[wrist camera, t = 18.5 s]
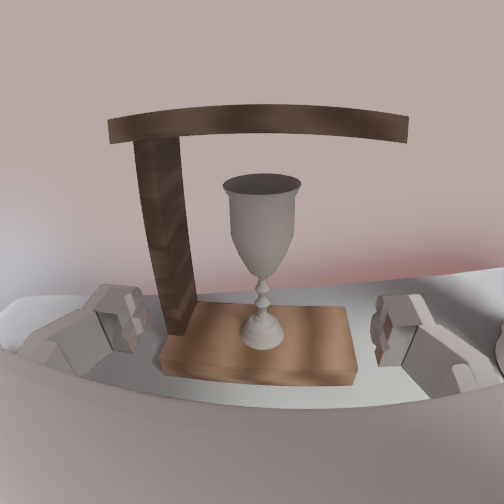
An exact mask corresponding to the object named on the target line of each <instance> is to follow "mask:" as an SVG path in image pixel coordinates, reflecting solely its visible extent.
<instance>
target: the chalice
mask: <svg viewBox="0 0 504 504" xmlns="http://www.w3.org/2000/svg"><path fill="white" fill-rule="evenodd" d="M300 186H301V182H300V181H299V180H298V179H296V178H294V177H291V176H286V175H281V174H249V175H243V176H238V177H234V178H231V179H229V180H227V181H226V182H225V183H224V184H223V188H224V189H225V191H226V193H227V194H228V196H229V204H230V222H231V236H232V239H233V242H234V244H235V247H236V249H237V251H238V254H239V255H240V257H241V259H242V260H243V262H244V263H245V265H246V267H247V268H248V270H249V271H250V273H251V274H253V275H255V276H258V279H259V280H258V285H257V286H256V288H255V290H256V291H257V292H258V295H259V297H258V299H257V300H256V301H255V305H256V306H257V307H258V309H259V312H258V313H256V314H254V315H252V316H251V317H250V318H249V319H248V321H247V323H246V325H245V328H244V329H243V330H242V334H241V337H242V340H243V341H244V343H245V344H246V345H248V346H249V347H251V348H254V349H258V350H266V349H271V348H274V347H276V346H278V345H279V344H280V343H281V342H282V340H283V338H284V332H283V330H282V328H281V326H280V324H279V322H278V319H277V318H276V317H274V316H273V315H271V314H270V313H267V307H268V306H269V305H270V304H271V301H270V300H269V299H268V298H267V293H268V292H269V290H270V286H269V285H268V282H267V277H268V276H269V275H272V274H273V273H275V271H276V270H277V268H278V266H279V265H280V263H281V261H282V260H283V258H284V256H285V254H286V252H287V250H288V248H289V245H290V243H291V240H292V238H293V235H294V213H295V196H296V194H297V192H298V190H299V188H300Z"/></svg>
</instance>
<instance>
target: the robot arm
mask: <svg viewBox="0 0 504 504" xmlns="http://www.w3.org/2000/svg"><path fill="white" fill-rule="evenodd" d="M142 298H143V296H142V293H141V290H140V289H139V288H138V287H130V286H121V285H111V284H103V285H101V286H100V287H99V288H98V289H97V291H96V292H95V293H94V294H93V295H92V296H91V298H90V299H89V300H88V301H87V303H86V304H85V305H84V306H83V308H82V309H77V310H75V311H73V312H71V313H69V314H67V315H65V316H64V317H62V318H60V319H58V320H56V321H54V322H52V323H50V324H48V325H46V326H44V327H43V328H41V329H39V330H37V331H35V332H33V333H31V334H30V335H29V336H28V338H27V339H26V340H25V342H24V343H23V344H22V345H21V347H20V348H19V349H18V351H17V352H16V353H12V352H10V351H8V350H5V349H3V348H1V347H0V504H504V383H500V381H499V379H498V377H497V375H496V373H495V370H494V368H493V366H492V364H491V362H490V360H489V358H488V357H486V356H485V355H483V354H482V353H481V352H479V351H478V350H476V349H475V348H474V347H472V346H471V345H469V344H468V343H466V342H465V341H464V340H462V339H461V338H459V337H458V336H456V335H455V334H454V333H452V332H451V331H449V330H448V329H446V328H445V327H443V326H442V325H441V324H436V323H435V321H434V319H433V317H432V315H431V313H430V311H429V309H428V307H427V305H426V303H425V302H424V300H423V298H422V296H421V295H420V294H406V295H383V296H378V298H377V301H376V305H375V306H376V309H377V312H376V313H375V314H374V315H373V316H372V320H371V328H370V333H371V339H372V343H374V344H375V345H376V346H377V347H376V350H375V355H376V359H377V363H378V367H386V366H401V367H402V368H403V369H404V370H405V371H406V372H407V374H408V375H409V376H410V377H411V378H412V379H413V380H414V381H415V382H416V383H417V384H418V385H419V386H420V388H421V389H422V390H423V391H424V392H425V393H426V394H427V395H428V396H429V397H430V398H431V399H428V400H422V401H415V402H408V403H400V404H391V405H381V406H370V407H356V408H335V409H278V408H258V407H243V406H232V405H222V404H213V403H204V402H197V401H190V400H183V399H177V398H171V397H165V396H159V395H154V394H149V393H144V392H139V391H134V390H130V389H125V388H121V387H117V386H113V385H109V384H105V383H101V382H98V381H94V380H90V379H87V378H83V377H81V376H82V375H83V374H85V373H86V372H87V371H88V370H90V369H91V368H92V367H93V366H95V365H96V364H97V363H99V362H100V361H101V360H102V359H104V358H105V357H106V356H107V355H109V354H110V353H111V352H113V351H112V350H114V351H121V352H127V353H133V351H134V349H135V348H136V346H137V344H138V342H139V338H138V335H139V334H141V333H143V332H144V330H145V328H146V326H147V321H148V313H147V309H146V307H145V306H144V305H143V303H142V302H141V300H142ZM501 332H502V333H501V336H500V337H499V339H498V340H497V343H496V348H495V353H496V359H497V362H498V365H499V367H500V369H501V371H502V373H503V374H504V322H503V324H502V326H501Z"/></svg>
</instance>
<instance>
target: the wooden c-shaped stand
mask: <svg viewBox="0 0 504 504" xmlns="http://www.w3.org/2000/svg"><path fill="white" fill-rule="evenodd" d="M408 121H409V117H408V116H402V115H396V114H390V113H384V112H377V111H369V110H361V109H351V108H341V107H329V106H311V105H285V104H250V105H249V104H248V105H222V106H206V107H193V108H183V109H173V110H164V111H157V112H150V113H143V114H136V115H130V116H125V117H120V118H114V119H109V120H108V129H109V139H110V144H115V143H122V142H130V141H133V144H134V153H135V162H136V171H137V178H138V186H139V193H140V200H141V206H142V213H143V219H144V224H145V230H146V236H147V241H148V247H149V252H150V257H151V262H152V267H153V272H154V276H155V281H156V285H157V290H158V294H159V298H160V303H161V307H162V311H163V315H164V319H165V323H166V327H167V330H168V334H169V335H168V337H167V339H166V342H165V344H164V346H163V349H162V351H161V353H160V356H159V361H160V364H161V367H162V370H163V373H164V375H171V376H178V377H185V378H192V379H201V380H209V381H219V382H230V383H242V384H257V385H278V386H345V385H352V384H353V382H354V379H355V376H356V373H357V371H358V366H357V361H356V356H355V351H354V346H353V342H352V337H351V332H350V328H349V323H348V319H347V315H346V310H345V307H321V306H280V305H269V306H268V307H267V313H270V314H271V315H273V316H274V317H276V318H277V319H278V322H279V324H280V326H281V328H282V330H283V332H284V338H283V340H282V342H281V343H280V344H279V345H278V346H276V347H274V348H271V349H266V350H258V349H254V348H251V347H249V346H248V345H246V344H245V343H244V341H243V340H242V337H241V334H242V330H243V329H244V328H245V325H246V323H247V321H248V319H249V318H250V317H251V316H252V315H254V314H256V313H258V312H259V309H258V307H257V306H256V305H254V304H233V303H216V302H200V301H197V294H196V288H195V281H194V275H193V266H192V259H191V252H190V243H189V235H188V226H187V218H186V209H185V200H184V189H183V179H182V168H181V157H180V156H181V155H180V142H179V136H191V135H208V134H235V133H290V134H315V135H331V136H345V137H357V138H366V139H376V140H384V141H393V142H400V143H407V137H408Z"/></svg>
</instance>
